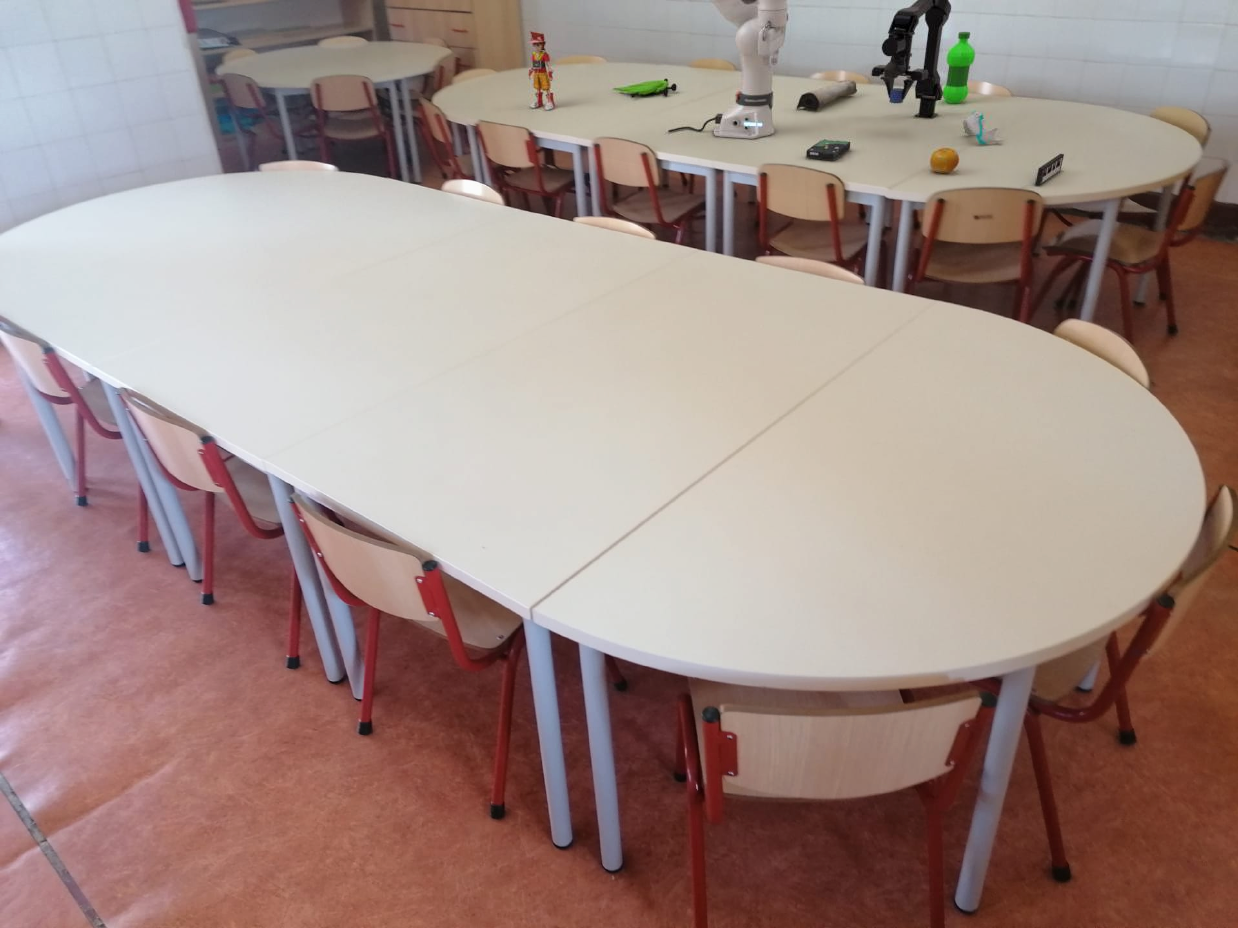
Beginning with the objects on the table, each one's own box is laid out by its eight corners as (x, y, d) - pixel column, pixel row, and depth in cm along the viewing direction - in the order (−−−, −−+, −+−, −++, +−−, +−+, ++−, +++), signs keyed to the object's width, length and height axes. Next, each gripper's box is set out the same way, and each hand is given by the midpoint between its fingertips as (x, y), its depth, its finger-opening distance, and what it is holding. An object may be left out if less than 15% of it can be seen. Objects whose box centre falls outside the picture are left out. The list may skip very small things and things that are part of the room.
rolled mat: (832, 85, 375) (848, 69, 367) (844, 103, 376) (861, 88, 367) (792, 103, 358) (809, 87, 350) (805, 122, 358) (822, 107, 350)
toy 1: (525, 109, 381) (517, 32, 364) (534, 104, 388) (527, 28, 371) (550, 110, 377) (543, 32, 360) (559, 105, 384) (553, 28, 367)
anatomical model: (956, 110, 312) (985, 102, 311) (957, 139, 318) (985, 132, 317) (974, 121, 300) (1004, 113, 299) (974, 151, 306) (1003, 144, 305)
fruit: (924, 163, 281) (941, 140, 278) (925, 165, 289) (941, 143, 286) (946, 178, 280) (963, 155, 277) (947, 180, 288) (963, 158, 285)
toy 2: (686, 85, 398) (631, 84, 414) (685, 72, 395) (629, 72, 411) (651, 104, 381) (596, 103, 397) (650, 92, 378) (594, 91, 394)
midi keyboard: (1039, 185, 269) (1043, 168, 266) (1035, 184, 270) (1038, 168, 267) (1060, 170, 279) (1064, 154, 277) (1056, 169, 280) (1060, 153, 277)
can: (901, 103, 315) (903, 91, 313) (888, 103, 317) (889, 91, 314) (904, 100, 318) (905, 88, 316) (890, 100, 320) (892, 88, 318)
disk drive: (834, 162, 299) (850, 149, 309) (835, 153, 297) (851, 141, 307) (805, 158, 304) (821, 146, 314) (806, 150, 302) (822, 138, 312)
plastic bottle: (973, 101, 354) (984, 32, 339) (955, 106, 349) (966, 36, 335) (952, 97, 361) (962, 29, 346) (934, 102, 356) (944, 33, 342)
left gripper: (774, 25, 266) (772, 75, 273) (789, 13, 281) (787, 61, 289) (753, 25, 268) (752, 74, 275) (770, 13, 283) (768, 60, 291)
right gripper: (866, 53, 308) (861, 100, 317) (917, 58, 298) (911, 107, 307) (881, 47, 315) (876, 94, 324) (932, 51, 305) (925, 100, 314)
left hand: (770, 67), depth 282 cm, fingers open, 8 cm apart
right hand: (896, 99), depth 317 cm, fingers closed on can, 5 cm apart
